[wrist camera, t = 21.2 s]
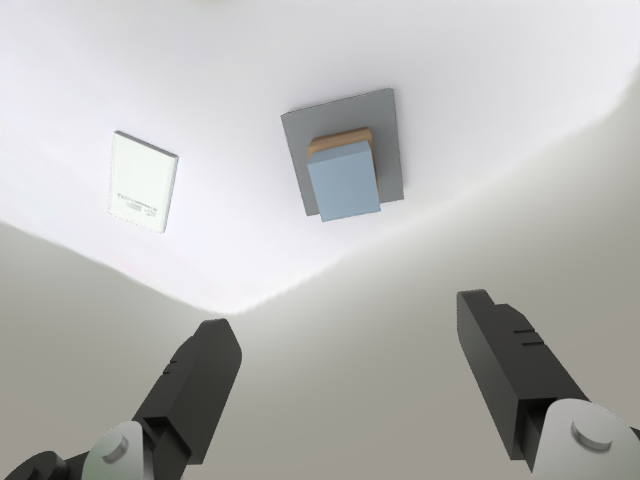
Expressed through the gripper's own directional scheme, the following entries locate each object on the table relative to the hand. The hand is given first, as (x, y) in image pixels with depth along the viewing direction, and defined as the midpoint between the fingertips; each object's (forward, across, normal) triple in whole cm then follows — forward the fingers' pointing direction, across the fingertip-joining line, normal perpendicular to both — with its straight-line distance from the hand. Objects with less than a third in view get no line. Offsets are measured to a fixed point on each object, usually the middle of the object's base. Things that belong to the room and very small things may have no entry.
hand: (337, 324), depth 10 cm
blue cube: (+20, 0, 0) cm, 20 cm away
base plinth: (+30, 0, 0) cm, 30 cm away
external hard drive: (+31, +29, -1) cm, 42 cm away
